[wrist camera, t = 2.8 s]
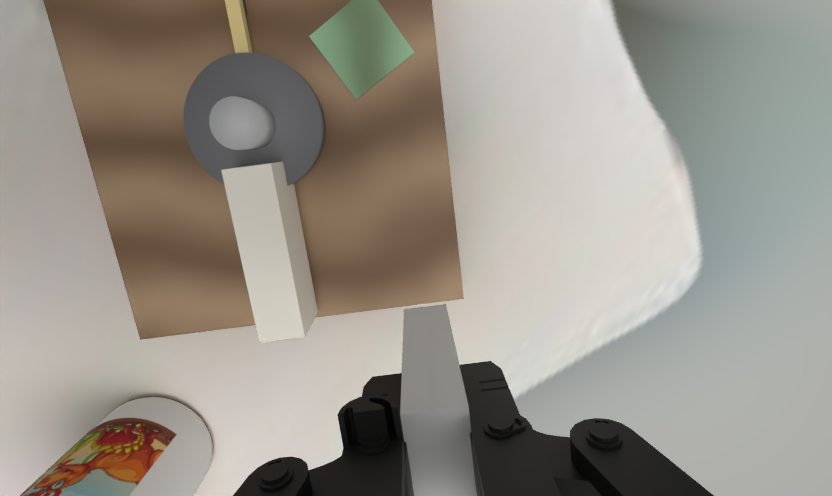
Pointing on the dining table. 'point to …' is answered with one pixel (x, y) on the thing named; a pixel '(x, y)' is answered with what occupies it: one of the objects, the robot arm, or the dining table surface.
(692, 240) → the dining table surface
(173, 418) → the milk bottle
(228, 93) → the tuning dial
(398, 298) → the board
